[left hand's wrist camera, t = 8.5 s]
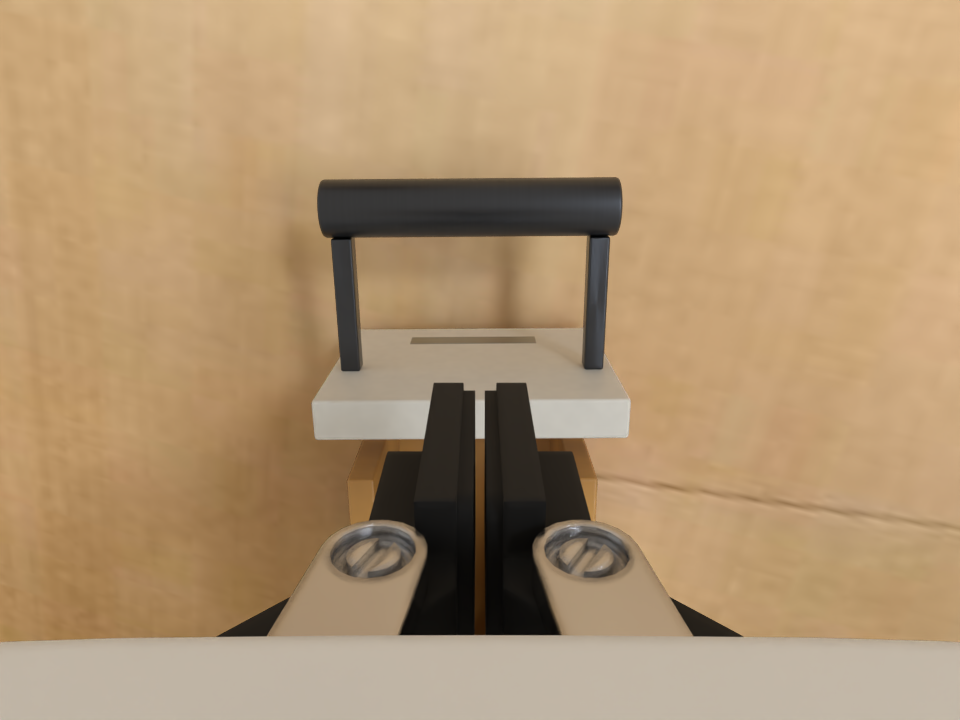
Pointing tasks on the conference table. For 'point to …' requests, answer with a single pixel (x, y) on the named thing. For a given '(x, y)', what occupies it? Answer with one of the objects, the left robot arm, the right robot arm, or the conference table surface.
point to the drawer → (468, 330)
